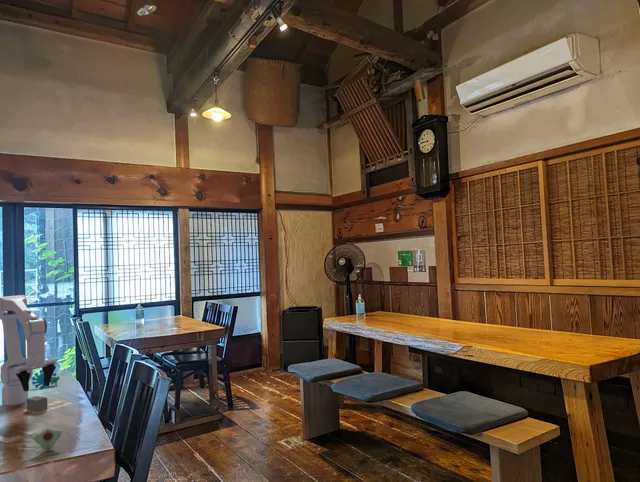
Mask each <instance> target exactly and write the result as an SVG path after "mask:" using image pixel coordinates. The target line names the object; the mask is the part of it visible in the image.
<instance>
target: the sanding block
mask: <svg viewBox="0 0 640 482" xmlns="http://www.w3.org/2000/svg"><path fill="white" fill-rule="evenodd" d="M26 400H27V402H26V410H27V411H31V412H30V413H32V412H36V413H35V414H37V413H39V412H42V411H45V410H48V408H47V403H48V397H45V396H38V395H35V396H32V397H28V399H26ZM27 411H26V412H27Z"/></svg>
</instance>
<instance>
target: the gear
mask: <svg viewBox="0 0 640 482" xmlns="http://www.w3.org/2000/svg"><path fill="white" fill-rule="evenodd" d="M31 380H32V382H31V384H32V386H34V387H35V388H36V389H38V387H39V389H40V390H41V389H42V390H44V386H45V385H44V374H43V369H40V370H39V373H38V372H35V373H34V376H32V377H31ZM59 380H60V376H59V375H57V373H56V372H53V374H52V377H51V380H50V385H54V384H55V385H58V381H59ZM50 385H49V386H45V388H47V387H48V388H50Z"/></svg>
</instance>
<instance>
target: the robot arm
mask: <svg viewBox="0 0 640 482" xmlns="http://www.w3.org/2000/svg"><path fill="white" fill-rule="evenodd" d="M27 306H28V299H27V297H26V295H25V294H21V295H20V294H19V295H8V296H0V321H1V322H2V324H1V325H2V328H3V337H4V341H5V349H6V350H5V351H6V355H7V360H6V361H5V362H3V363H2V365H1V366H0V381H1V383H2V384H3V387H2V389H1V404H0V408H1V407H5V406H17V405H22V404H25V403H27V400H26V399H28V398H29V390H30V380H32V378H33V374H34V370H36V369H37V370H38V369H41V370H43V372H42V373H43V374H44V386H45V387H46V386H49V387H50V385H51V382H50V380H51V377H53V376H52V374H54V373H55V372H54V371H56V369H57V368H56V367H57V366H56V365H58V362H57V361H58V360H57V359H55V358H53V359H47V360H46V351H45V350H46V349H45V346H46V345H45V334H46V333H47V331H48V323H47V320H46V319H45V318H42V317H40V318H39V316H38V315H37V314H36V312H34V310H32V309H28V307H27ZM17 321H19V323H20V324H21V326H22V327H23V334H24V339H25V341H26V357H24V356H23V354H22V347H21V340H20V335H19V328H18V322H17Z"/></svg>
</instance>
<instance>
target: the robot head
mask: <svg viewBox="0 0 640 482" xmlns="http://www.w3.org/2000/svg"><path fill="white" fill-rule="evenodd" d="M63 432H64V429H57V428H53V427H45V428H44V429H42V430H41V431H40V432H37V433H36V434H34V435H32V436H31V438H32V440H33V441H34V443H35V442H36V444H37V445H39V446H40V448H41V449H42V450H43V451H50V450H52V449H54V447H55V445H56V443H57V441H58V440H59V439H60V437H61V436H62V434H63Z"/></svg>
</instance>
